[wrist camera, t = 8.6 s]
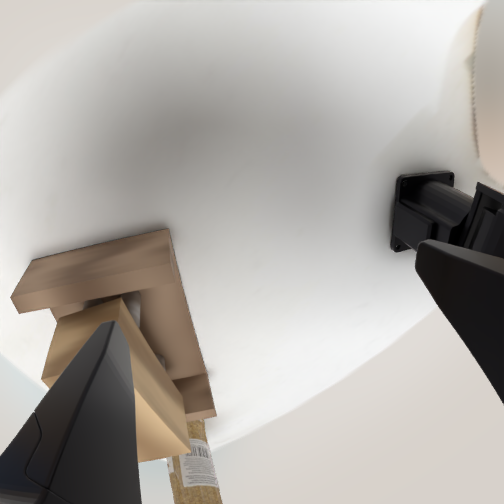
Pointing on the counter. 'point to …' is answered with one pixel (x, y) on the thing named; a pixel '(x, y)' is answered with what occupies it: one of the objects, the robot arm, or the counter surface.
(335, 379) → the counter surface
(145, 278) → the peg cradle
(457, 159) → the counter surface
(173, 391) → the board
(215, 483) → the sprinkles bottle
